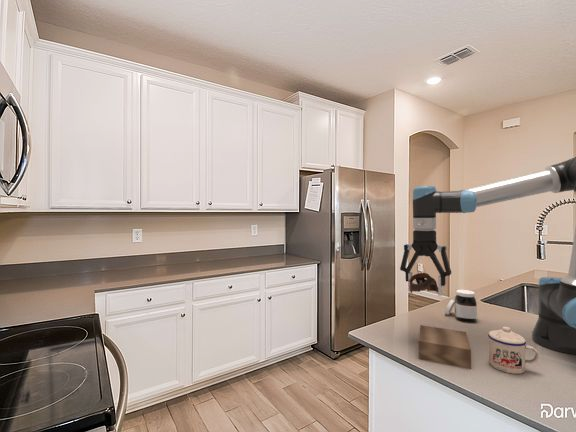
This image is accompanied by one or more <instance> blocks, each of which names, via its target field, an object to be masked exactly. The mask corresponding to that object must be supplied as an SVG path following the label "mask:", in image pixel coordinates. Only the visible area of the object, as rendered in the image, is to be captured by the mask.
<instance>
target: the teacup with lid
mask: <svg viewBox="0 0 576 432" xmlns="http://www.w3.org/2000/svg"><path fill="white" fill-rule="evenodd" d="M487 336H488V362H489V365H490V366H492V368H494V369H497V370H498V371H500V372H505V373H508V374H513V375H518V374H523V373H525V372H526V364H535V363H536V362H537V361H538V360H539V359H540V353H539V351H538V350H537V349H536V348H535V347H533V346H531V345H526V344H527V340H526V339H525V337H523V336H522V335H521V334H518V333H516V332H514V331H512V329H511V327H509V326H503V327H502V328H501V329H491V330H490V331H489V332H488V333H487ZM526 349H527V350H531V351H533V352H535V355H534V357H533V358H532V359H526Z"/></svg>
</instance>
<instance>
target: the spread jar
mask: <svg viewBox="0 0 576 432" xmlns="http://www.w3.org/2000/svg"><path fill="white" fill-rule="evenodd" d="M455 294H456V295H455V296H454V300H453V299H450V301H449V302H448V303H447V305H446V308H445V311H444V313H445V314H446V315H450V314H451V313H452V310H453V308H454V316H455V318H456V319H457V320H459V321H461V320H462V322H466V321H467V323H469V322H470V323H471V322H475V321H477V318H478V305H477V303H478V302H477V300H476V292H475V291H472V290H467V289H457V290H456V291H455Z"/></svg>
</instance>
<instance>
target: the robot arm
mask: <svg viewBox="0 0 576 432" xmlns="http://www.w3.org/2000/svg"><path fill="white" fill-rule="evenodd" d="M568 191H569V192H570V191H573V193H574V195H576V156H575V157H573V158H569V159H567V160H564V161H561V162H559V163H555V164H552V165H548V166H546V167H545V168H544V169H543V170H540V171H536V172H535V171H534V172H531V173H528V174H527V173H526V174H522V175H519V176H514V177H511V178H507V179H506V178H505V179H503V180H499V181H494V182H491V183H486V184H481V185H478V186H474V187H470V188H465V189H462V190H450V191H446V190H445V191H437V188H436V186H435V185H434V186H433V185H425V186H424V185H422V186H416V187H414V188H413V190H412V229H414V230H413V231H412V243H410V244H406V243H405V244H404V245H403V250H404V252H403V255H402V259H401V264H400V267H399V270H400V271H402V272H404V273H405V282H407V283H408V284H407V286H408V287H407V288H408V289H407V290H408V292H410V289H409V286H410V282H409V280H410V278H411V277H412V276H413V272H411V270H412V268H413V267H414V265H415V264H416V261H418V259H419V257H423V256H424V257H429V258H430V259H431V261H432V263H433V264H434V266H435V268H436V270H437V272H438V273H439V275H438V276H437V282H438V283H437V284H438V285H437V287H438V293H437V295H438V296H439V297H441V296H442V295H443V287H445V286H446V282H447V281H446V277H448V276H451V275H452V269H451V266H450V263H449V259H448V256H447V255H448V254H447V246H445V245H438V244H437V230H436V229H437V214H446V213H447V214H467V213H469V214H470V213H474V212H475V211H476V210H477V208H478V207H484V206H488V205H489V206H490V205H492V204H498V203H502V202H507V201H508V202H509V201H513V200H516V199H520V198H522V199H523V198H527V197H530V196H534V195H539V194H544V193H548V192H549V193H550V192H551V193H554V194H558V193H563V192H568ZM412 249H413V251H414V254H413V256H412V258H411V259H410V261H409V263H408V259H409V255H410V251H411V250H412ZM437 250H438V252H440V255H441V259H442V264H443V266H444V269H443V266H442V264H441V263H440V261H439V259H438V257H437V255H436V253H435V252H436V251H437ZM407 263H408V265H407ZM412 283H414V280H413V281H412ZM537 287H538V318H537V321H536V323H535V325H534V327H533V330H532V331H531V339H532V341H534V343H536V344H537V345H540V346H542V347H544V348H547V349H549V350H553V351H557V352H559V353H560V352H561V353H565V354H571V355H576V227H575V229H574V236H573V242H572V248H571V255H570V262H569V268H568V274H567V276H565V277H557V276H555V277H553V276H542V277H540V278H539V280H538V284H537Z"/></svg>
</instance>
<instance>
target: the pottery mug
mask: <svg viewBox="0 0 576 432" xmlns="http://www.w3.org/2000/svg"><path fill="white" fill-rule="evenodd" d="M412 281H413V283H412ZM414 281H415V282H416V283H414ZM409 282H410V286H409V289H410V291H409V293H410V294H413V292H422V291H423V292H424V291H426V290H427V291H428V292H436V293H437V294H438V285H437V284H438V283H437V281H436V280H435V278H434V277H432V276H430V274H429V273H427V272H418V273H415V274H414V275H413V274H412V277H411V278H410V280H409Z"/></svg>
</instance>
